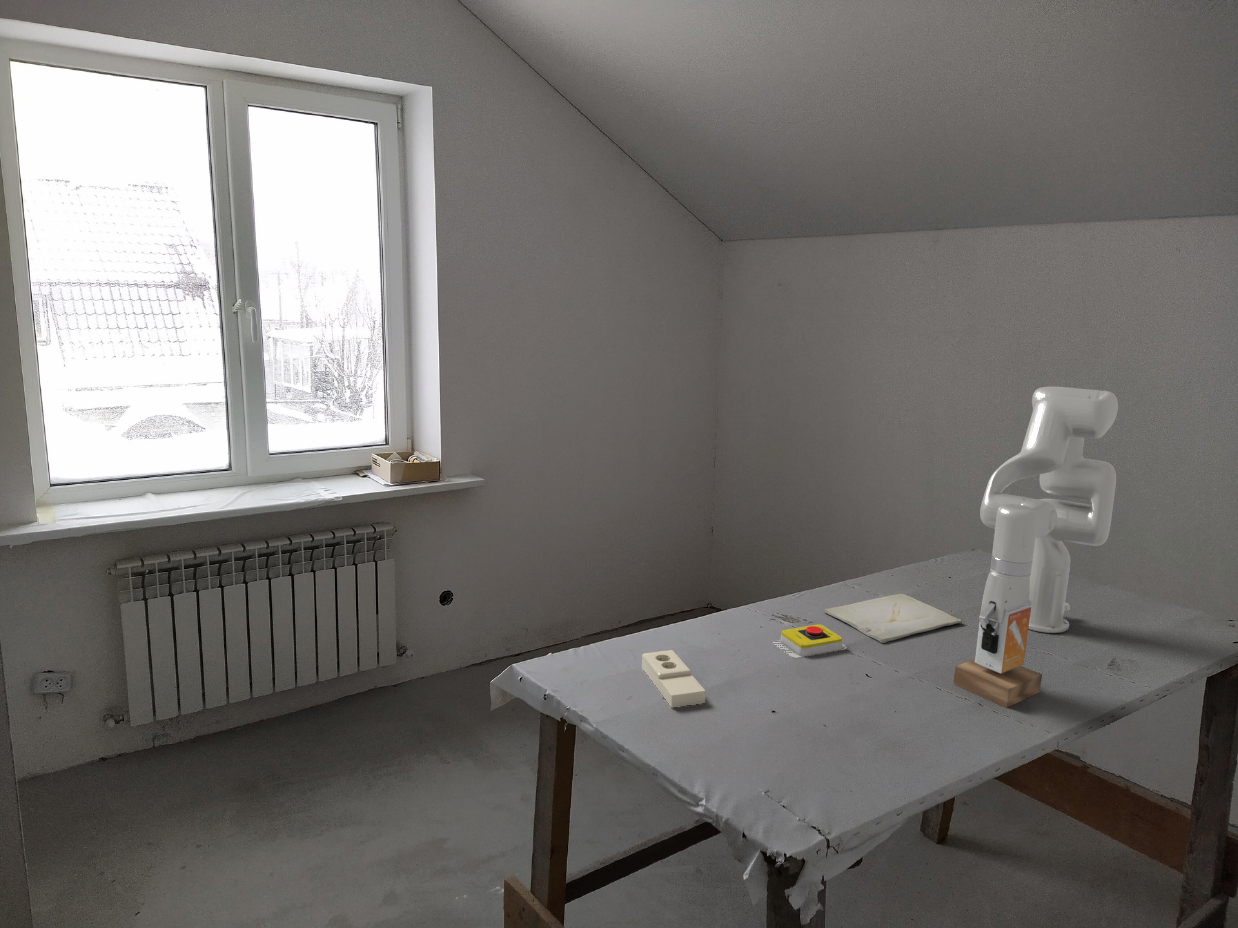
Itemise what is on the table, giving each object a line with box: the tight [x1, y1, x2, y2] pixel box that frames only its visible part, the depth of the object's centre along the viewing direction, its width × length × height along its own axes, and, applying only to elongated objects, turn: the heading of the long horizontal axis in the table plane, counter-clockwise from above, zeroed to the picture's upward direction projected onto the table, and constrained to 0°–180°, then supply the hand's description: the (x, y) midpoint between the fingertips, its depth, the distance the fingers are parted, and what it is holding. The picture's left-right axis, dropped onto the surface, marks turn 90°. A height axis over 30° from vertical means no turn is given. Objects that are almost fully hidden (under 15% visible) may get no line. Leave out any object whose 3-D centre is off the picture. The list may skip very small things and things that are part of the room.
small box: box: [974, 605, 1031, 674], centre depth 177 cm, size 8×6×13 cm
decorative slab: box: [823, 593, 963, 644], centre depth 215 cm, size 27×21×2 cm
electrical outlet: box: [641, 649, 706, 708], centre depth 178 cm, size 7×4×18 cm
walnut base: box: [953, 658, 1043, 709], centre depth 179 cm, size 12×12×4 cm
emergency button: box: [772, 623, 848, 659], centre depth 198 cm, size 9×4×15 cm
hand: (1001, 645), depth 177 cm, fingers closed on small box, 8 cm apart
